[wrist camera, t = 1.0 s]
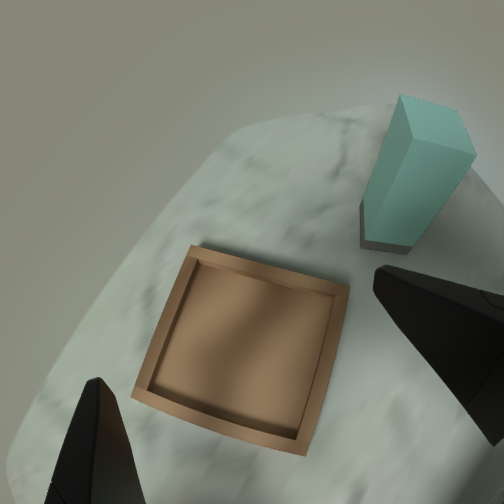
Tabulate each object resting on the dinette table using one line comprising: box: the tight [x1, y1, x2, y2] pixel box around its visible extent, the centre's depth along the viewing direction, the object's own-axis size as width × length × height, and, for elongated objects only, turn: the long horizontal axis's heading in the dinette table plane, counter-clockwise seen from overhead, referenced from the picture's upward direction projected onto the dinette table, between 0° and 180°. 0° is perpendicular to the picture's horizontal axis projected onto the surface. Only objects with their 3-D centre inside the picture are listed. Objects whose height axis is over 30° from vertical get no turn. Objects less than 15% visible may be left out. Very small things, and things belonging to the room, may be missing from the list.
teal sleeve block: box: [360, 94, 477, 255], centre depth 21 cm, size 4×4×13 cm
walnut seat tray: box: [131, 245, 350, 456], centre depth 22 cm, size 13×13×2 cm
